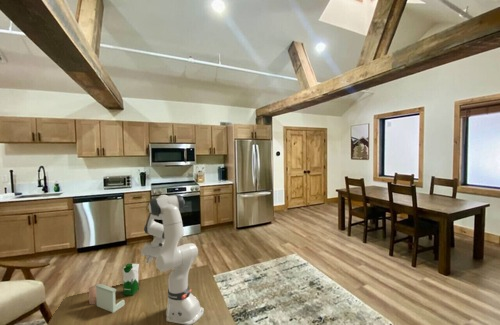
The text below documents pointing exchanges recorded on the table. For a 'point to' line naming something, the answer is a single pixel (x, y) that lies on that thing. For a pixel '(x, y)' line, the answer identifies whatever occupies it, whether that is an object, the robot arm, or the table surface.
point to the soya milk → (130, 279)
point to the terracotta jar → (92, 295)
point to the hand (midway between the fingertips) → (147, 262)
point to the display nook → (107, 298)
